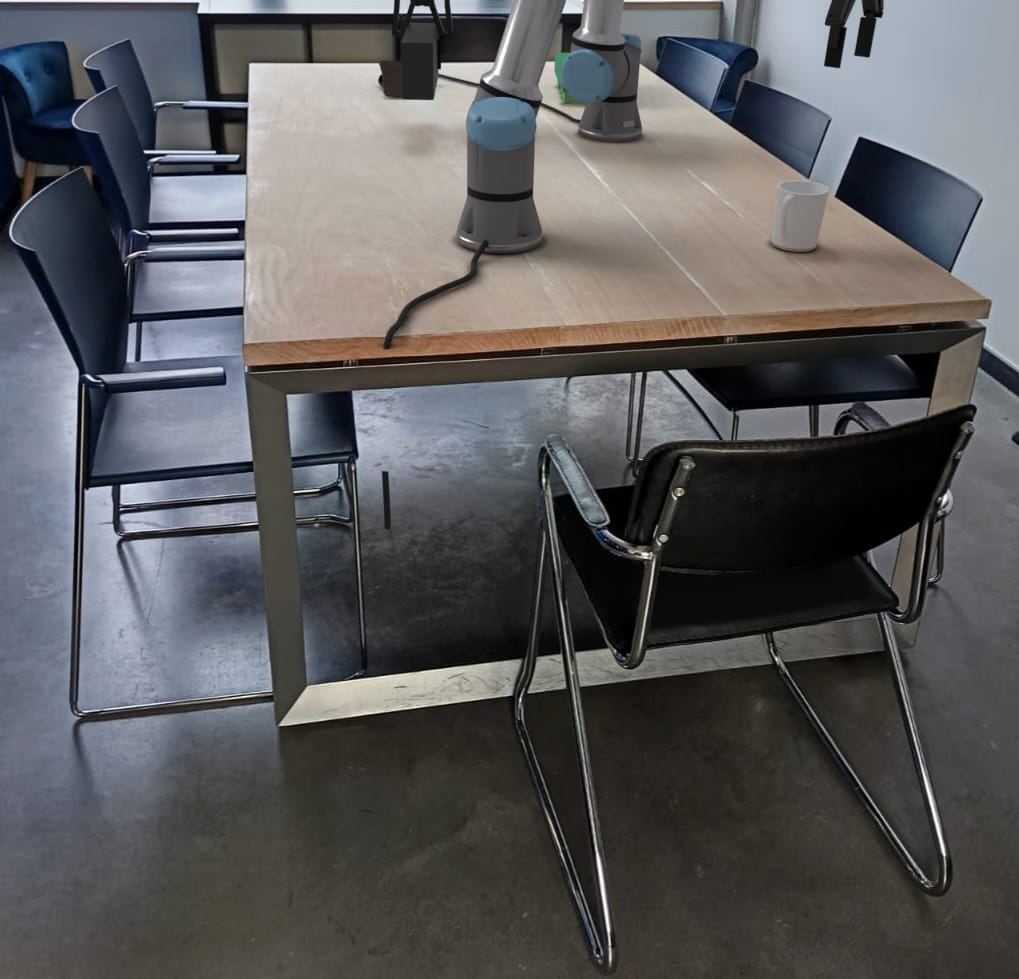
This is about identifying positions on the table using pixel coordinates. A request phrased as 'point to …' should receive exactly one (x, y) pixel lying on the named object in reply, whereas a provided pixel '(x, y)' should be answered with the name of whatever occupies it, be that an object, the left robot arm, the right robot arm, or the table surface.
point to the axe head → (391, 78)
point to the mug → (798, 215)
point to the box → (419, 61)
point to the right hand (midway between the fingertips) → (423, 67)
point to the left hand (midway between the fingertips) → (847, 61)
